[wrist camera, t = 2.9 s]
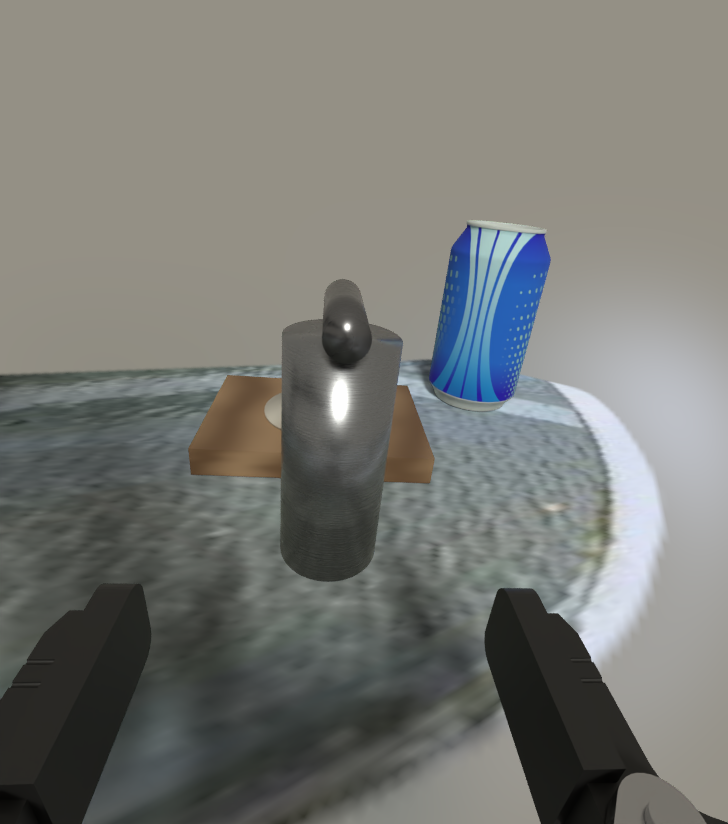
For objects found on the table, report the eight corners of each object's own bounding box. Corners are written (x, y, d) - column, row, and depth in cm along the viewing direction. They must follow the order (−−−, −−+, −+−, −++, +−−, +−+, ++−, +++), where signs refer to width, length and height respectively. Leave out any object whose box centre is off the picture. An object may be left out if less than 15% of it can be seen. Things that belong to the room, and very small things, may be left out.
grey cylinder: (274, 590, 22) (273, 309, 15) (285, 505, 27) (289, 274, 21) (379, 591, 22) (421, 320, 16) (369, 507, 28) (397, 283, 21)
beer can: (502, 424, 40) (554, 233, 32) (415, 399, 43) (444, 219, 35) (517, 392, 47) (562, 229, 39) (441, 373, 50) (469, 218, 42)
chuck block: (191, 474, 29) (188, 445, 28) (228, 395, 40) (227, 373, 39) (429, 483, 31) (435, 456, 30) (404, 405, 41) (407, 383, 40)
